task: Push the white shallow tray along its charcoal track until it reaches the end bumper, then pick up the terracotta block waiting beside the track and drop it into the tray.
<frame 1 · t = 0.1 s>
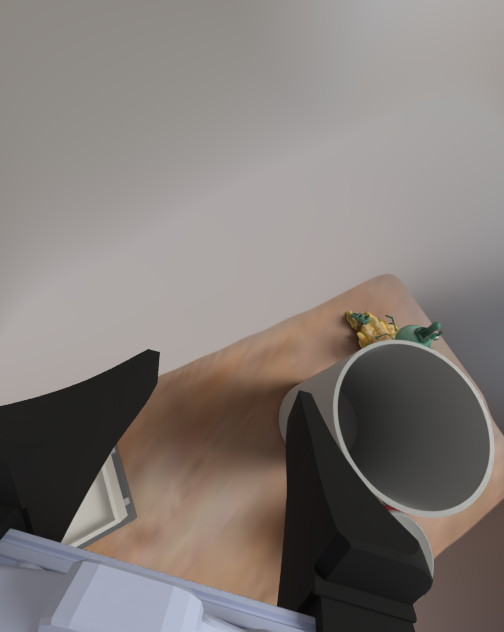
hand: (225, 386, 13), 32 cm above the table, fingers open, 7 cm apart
track: (43, 514, 36), on the table
canned food: (354, 520, 39), on the table
white shallow tray: (75, 497, 34), point 3 cm above the table, slide at 0.0 cm
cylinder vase: (314, 420, 43), on the table
frog figurine: (381, 347, 49), on the table
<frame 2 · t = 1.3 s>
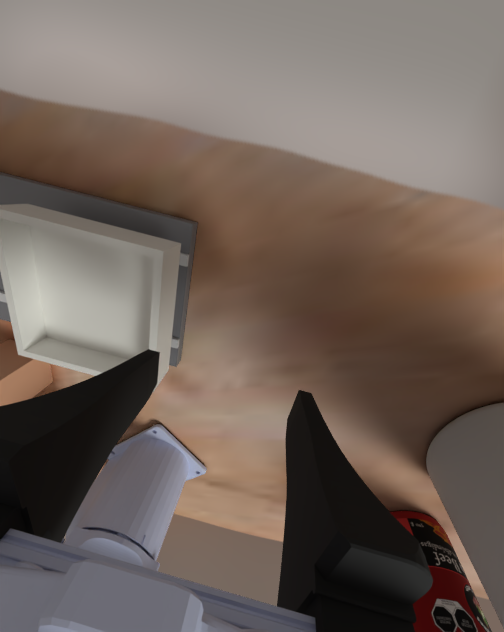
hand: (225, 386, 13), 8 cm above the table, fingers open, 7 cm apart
block: (32, 360, 26), on the table
track: (57, 265, 21), on the table
canned food: (402, 527, 30), on the table
white shallow tray: (99, 299, 18), point 3 cm above the table, slide at 0.0 cm
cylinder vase: (499, 449, 23), on the table
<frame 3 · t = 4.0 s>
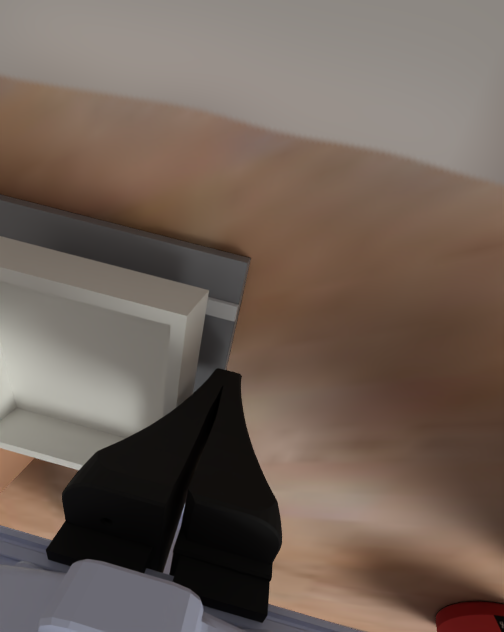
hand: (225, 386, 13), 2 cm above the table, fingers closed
block: (21, 420, 21), on the table
track: (50, 310, 16), on the table
canned food: (479, 616, 24), on the table
white shallow tray: (88, 365, 12), point 3 cm above the table, slide at 1.1 cm, touching gripper
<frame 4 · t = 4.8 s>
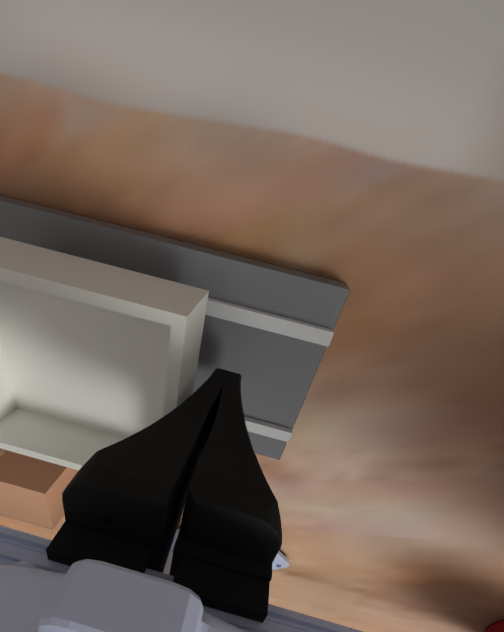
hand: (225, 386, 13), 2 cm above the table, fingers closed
block: (77, 436, 21), on the table
track: (126, 330, 16), on the table
white shallow tray: (88, 365, 12), point 3 cm above the table, slide at 5.9 cm, touching gripper
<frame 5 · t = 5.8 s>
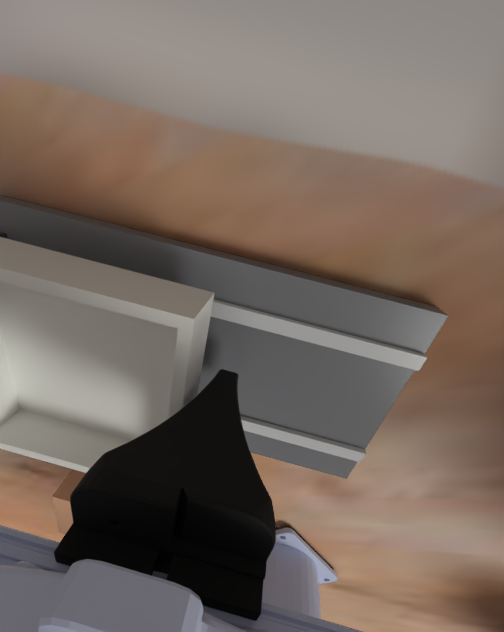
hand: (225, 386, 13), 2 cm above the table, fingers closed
block: (131, 451, 20), on the table
track: (198, 350, 15), on the table
white shallow tray: (92, 367, 12), point 3 cm above the table, slide at 10.1 cm, touching gripper
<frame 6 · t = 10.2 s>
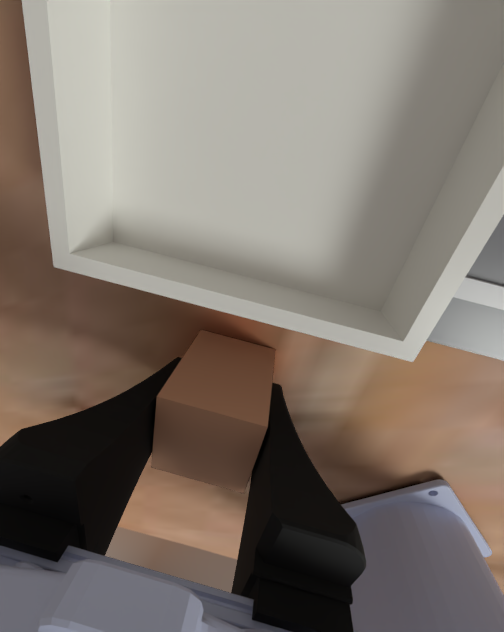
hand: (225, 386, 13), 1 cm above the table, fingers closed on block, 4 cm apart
block: (231, 369, 14), on the table, touching gripper
track: (392, 161, 10), on the table
white shallow tray: (282, 106, 7), point 3 cm above the table, slide at 10.0 cm
when the fingers open (6 cm above the table, at t = 13.0 s): block drops 1 cm, resting on white shallow tray.
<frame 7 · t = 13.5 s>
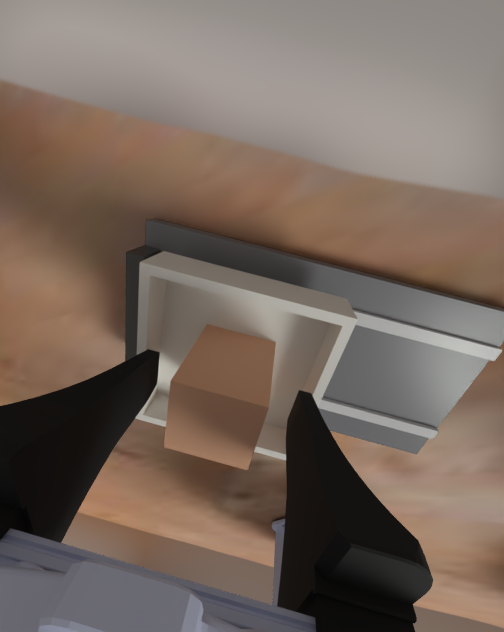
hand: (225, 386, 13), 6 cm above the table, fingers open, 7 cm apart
block: (234, 361, 16), point 3 cm above the table, touching white shallow tray
track: (299, 344, 18), on the table
white shallow tray: (234, 357, 15), point 3 cm above the table, slide at 10.0 cm, touching block
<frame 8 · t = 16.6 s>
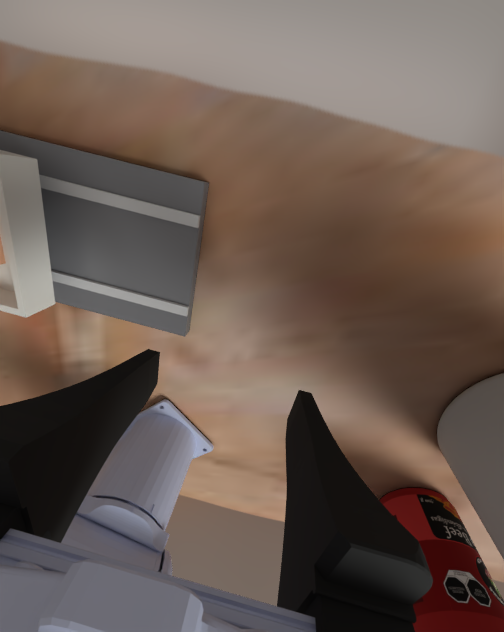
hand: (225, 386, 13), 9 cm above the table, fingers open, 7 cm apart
track: (65, 231, 21), on the table
canned food: (411, 505, 29), on the table
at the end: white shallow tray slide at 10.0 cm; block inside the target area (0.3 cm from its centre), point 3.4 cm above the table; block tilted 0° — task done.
